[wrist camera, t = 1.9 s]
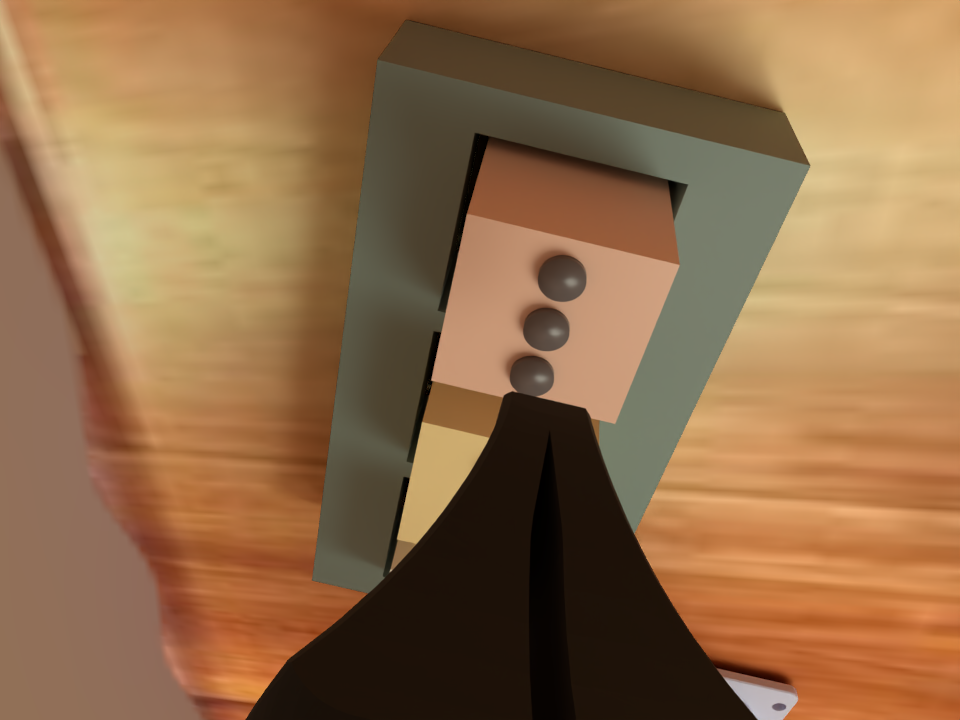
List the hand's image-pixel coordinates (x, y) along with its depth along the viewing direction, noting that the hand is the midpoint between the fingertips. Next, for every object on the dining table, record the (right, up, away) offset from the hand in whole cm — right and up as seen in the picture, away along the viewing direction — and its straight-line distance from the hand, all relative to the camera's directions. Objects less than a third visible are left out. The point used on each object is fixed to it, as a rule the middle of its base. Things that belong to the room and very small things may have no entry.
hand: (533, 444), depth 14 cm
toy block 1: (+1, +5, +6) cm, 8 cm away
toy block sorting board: (0, +2, +11) cm, 11 cm away
